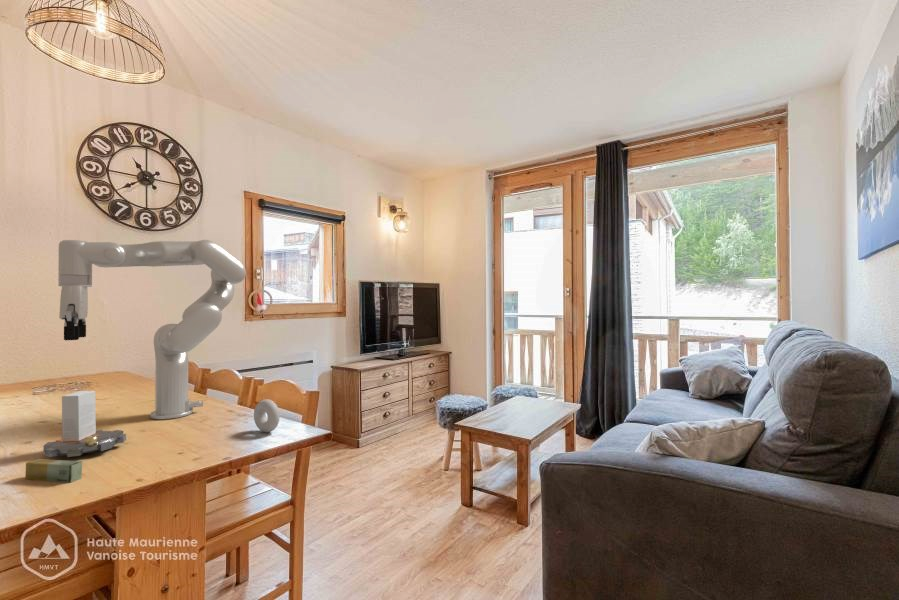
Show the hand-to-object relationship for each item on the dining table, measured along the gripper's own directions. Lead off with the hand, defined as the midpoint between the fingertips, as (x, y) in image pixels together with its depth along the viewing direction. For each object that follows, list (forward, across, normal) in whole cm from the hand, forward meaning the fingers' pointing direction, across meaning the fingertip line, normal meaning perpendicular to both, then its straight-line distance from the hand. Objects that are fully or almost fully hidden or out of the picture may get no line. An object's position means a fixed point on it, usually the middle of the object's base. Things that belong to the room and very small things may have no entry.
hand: (75, 338), depth 124 cm
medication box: (+29, +39, +3) cm, 49 cm away
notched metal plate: (+27, +21, +6) cm, 35 cm away
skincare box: (+25, +18, +4) cm, 32 cm away
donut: (+28, +29, +49) cm, 64 cm away
